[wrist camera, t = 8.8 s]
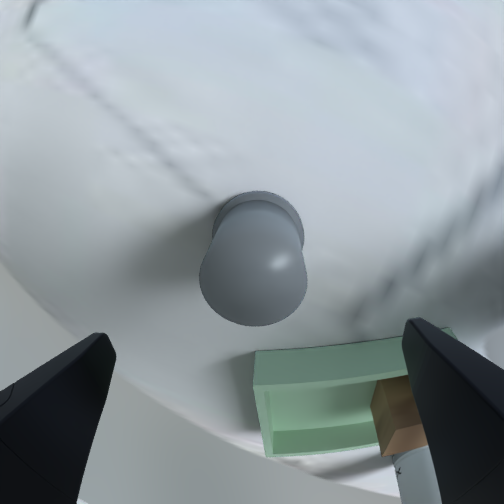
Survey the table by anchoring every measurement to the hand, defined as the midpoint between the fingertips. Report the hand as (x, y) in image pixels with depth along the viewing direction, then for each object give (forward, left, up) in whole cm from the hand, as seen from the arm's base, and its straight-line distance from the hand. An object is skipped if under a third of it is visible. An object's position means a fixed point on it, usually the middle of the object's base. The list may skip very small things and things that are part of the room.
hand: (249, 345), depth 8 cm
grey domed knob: (0, 0, -8) cm, 8 cm away
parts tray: (-6, +13, -8) cm, 17 cm away
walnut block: (-9, +13, -8) cm, 18 cm away
